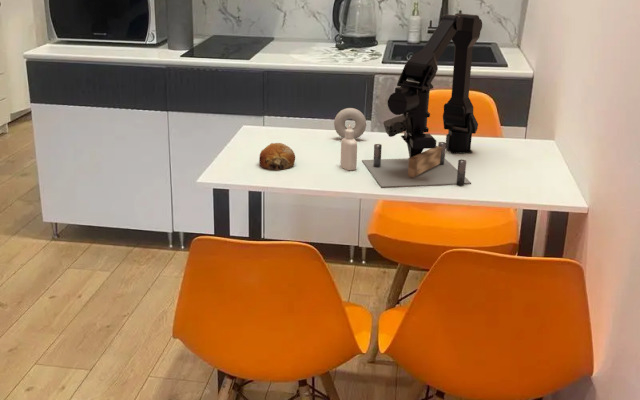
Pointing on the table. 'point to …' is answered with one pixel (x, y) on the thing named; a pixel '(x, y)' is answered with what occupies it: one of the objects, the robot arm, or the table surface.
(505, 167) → the table surface
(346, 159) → the eye dropper bottle
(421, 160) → the gate
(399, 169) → the mat
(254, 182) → the table surface
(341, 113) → the donut
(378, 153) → the gate posts
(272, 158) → the bread roll
